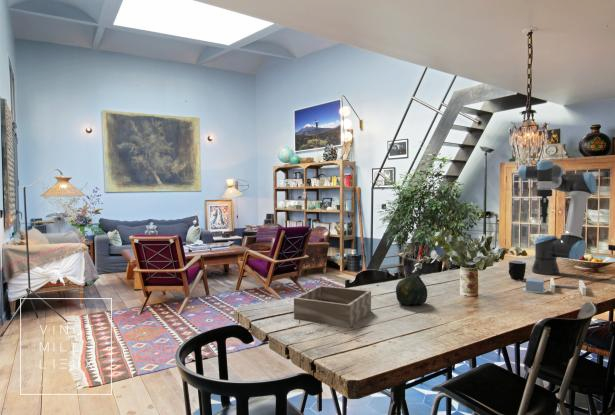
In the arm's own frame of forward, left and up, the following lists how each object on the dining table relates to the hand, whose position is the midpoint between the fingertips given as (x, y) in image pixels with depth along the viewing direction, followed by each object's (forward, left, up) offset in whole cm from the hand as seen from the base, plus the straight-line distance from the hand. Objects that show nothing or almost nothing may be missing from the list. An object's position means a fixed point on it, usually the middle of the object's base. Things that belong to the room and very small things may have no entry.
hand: (543, 227), depth 236 cm
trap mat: (+3, +11, -32) cm, 34 cm away
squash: (+69, -56, -32) cm, 94 cm away
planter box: (+101, -82, -32) cm, 134 cm away
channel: (+9, +11, -32) cm, 35 cm away
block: (+17, -4, -31) cm, 36 cm away
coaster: (+17, -4, -32) cm, 36 cm away
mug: (-8, -14, -32) cm, 36 cm away
